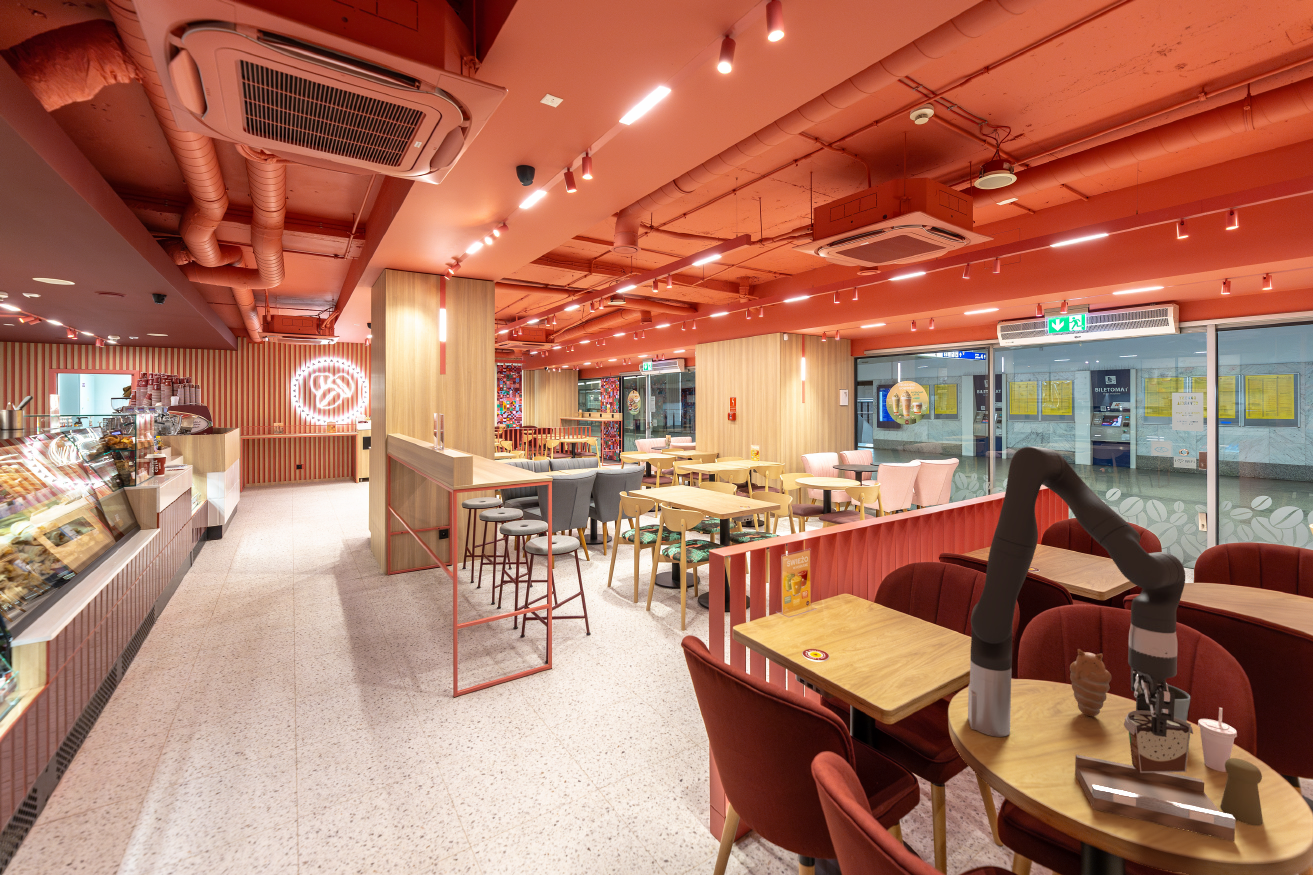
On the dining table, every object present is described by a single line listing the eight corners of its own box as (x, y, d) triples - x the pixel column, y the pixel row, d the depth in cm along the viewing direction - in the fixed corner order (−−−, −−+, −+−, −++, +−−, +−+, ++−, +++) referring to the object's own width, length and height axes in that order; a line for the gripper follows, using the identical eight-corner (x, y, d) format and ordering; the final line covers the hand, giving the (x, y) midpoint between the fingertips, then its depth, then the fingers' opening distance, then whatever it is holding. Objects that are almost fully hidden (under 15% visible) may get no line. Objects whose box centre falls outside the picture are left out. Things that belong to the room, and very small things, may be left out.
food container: (1165, 753, 118) (1165, 708, 118) (1193, 771, 112) (1193, 723, 112) (1108, 754, 118) (1108, 709, 118) (1133, 772, 112) (1133, 724, 112)
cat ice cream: (1068, 716, 148) (1070, 651, 148) (1068, 704, 155) (1070, 642, 154) (1110, 727, 143) (1112, 660, 142) (1108, 714, 149) (1110, 650, 149)
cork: (1211, 804, 115) (1213, 754, 114) (1237, 803, 115) (1239, 752, 115) (1245, 826, 109) (1247, 772, 108) (1272, 824, 109) (1274, 771, 109)
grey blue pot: (1130, 733, 141) (1131, 687, 140) (1140, 719, 147) (1141, 676, 146) (1184, 752, 133) (1186, 704, 132) (1192, 737, 139) (1194, 691, 138)
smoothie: (1243, 776, 123) (1246, 716, 123) (1210, 773, 125) (1212, 713, 124) (1220, 759, 130) (1222, 702, 129) (1189, 756, 131) (1191, 699, 130)
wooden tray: (1094, 810, 113) (1094, 789, 113) (1075, 773, 125) (1075, 754, 125) (1235, 842, 105) (1236, 819, 104) (1200, 799, 116) (1201, 779, 116)
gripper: (1193, 665, 106) (1191, 748, 106) (1159, 637, 119) (1157, 711, 120) (1144, 659, 109) (1142, 740, 109) (1116, 632, 122) (1114, 705, 122)
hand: (1150, 725), depth 114 cm, fingers closed on food container, 7 cm apart
